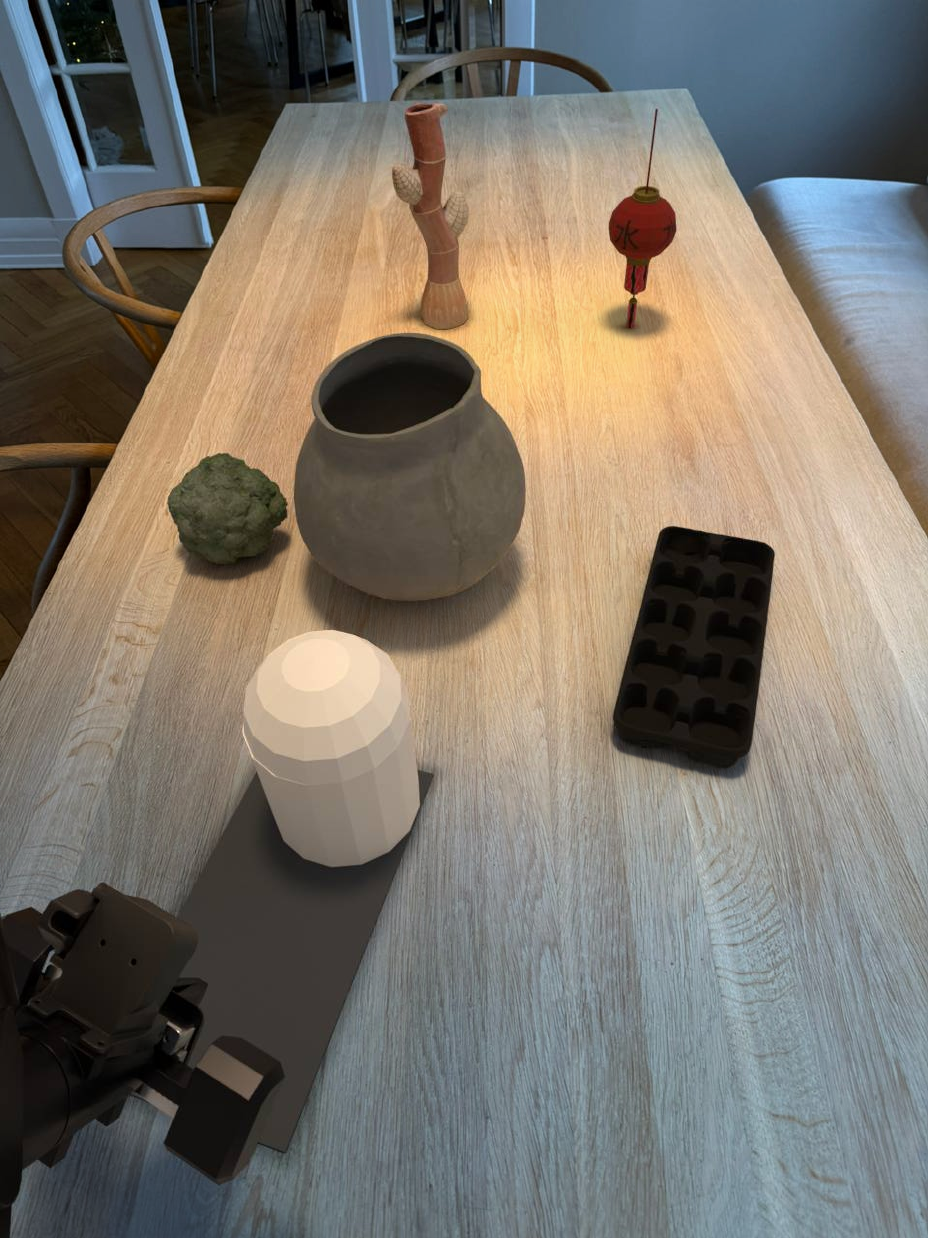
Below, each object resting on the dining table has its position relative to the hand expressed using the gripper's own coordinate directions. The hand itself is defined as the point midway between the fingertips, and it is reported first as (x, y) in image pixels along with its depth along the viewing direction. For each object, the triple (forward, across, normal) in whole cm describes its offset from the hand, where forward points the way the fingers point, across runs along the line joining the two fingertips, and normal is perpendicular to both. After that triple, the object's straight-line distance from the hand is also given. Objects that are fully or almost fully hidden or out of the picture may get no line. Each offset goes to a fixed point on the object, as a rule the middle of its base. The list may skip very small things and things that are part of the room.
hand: (201, 987), depth 56 cm
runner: (+17, +3, +1) cm, 17 cm away
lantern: (+80, +9, -76) cm, 111 cm away
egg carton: (+43, -19, -33) cm, 57 cm away
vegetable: (+41, +34, -25) cm, 59 cm away
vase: (+76, +37, -67) cm, 108 cm away
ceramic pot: (+44, +13, -30) cm, 55 cm away
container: (+24, +4, -8) cm, 26 cm away
